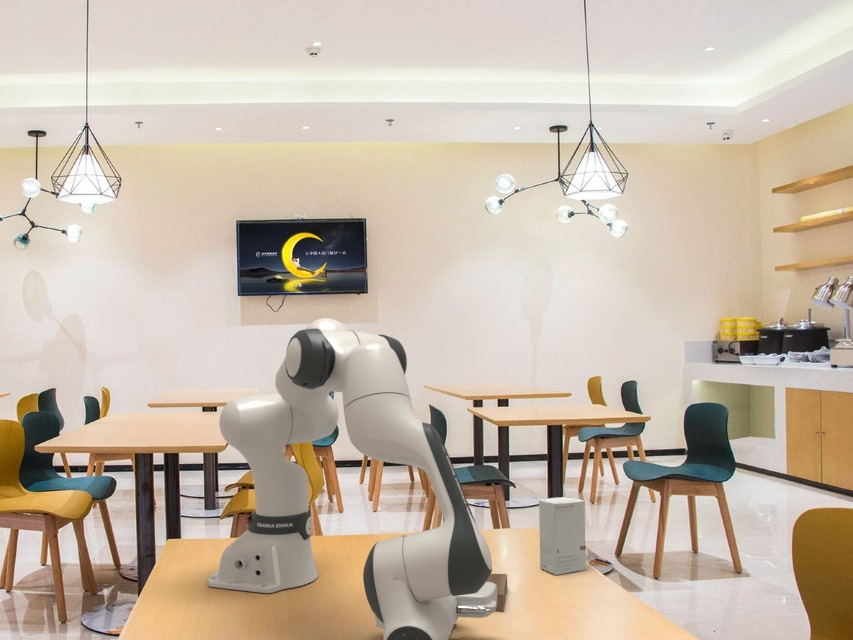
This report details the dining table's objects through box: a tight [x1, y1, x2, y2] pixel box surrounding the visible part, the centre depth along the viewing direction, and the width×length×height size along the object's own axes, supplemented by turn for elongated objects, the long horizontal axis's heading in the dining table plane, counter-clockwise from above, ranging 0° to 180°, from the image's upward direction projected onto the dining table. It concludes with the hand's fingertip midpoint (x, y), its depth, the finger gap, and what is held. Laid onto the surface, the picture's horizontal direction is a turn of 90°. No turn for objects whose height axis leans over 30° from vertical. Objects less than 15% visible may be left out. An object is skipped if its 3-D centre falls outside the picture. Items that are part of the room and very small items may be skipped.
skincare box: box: [538, 496, 587, 576], centre depth 160 cm, size 8×6×15 cm
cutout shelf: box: [486, 573, 508, 612], centre depth 144 cm, size 20×12×3 cm, turn 80°
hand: (441, 581), depth 131 cm, fingers closed on pill bottle, 6 cm apart
